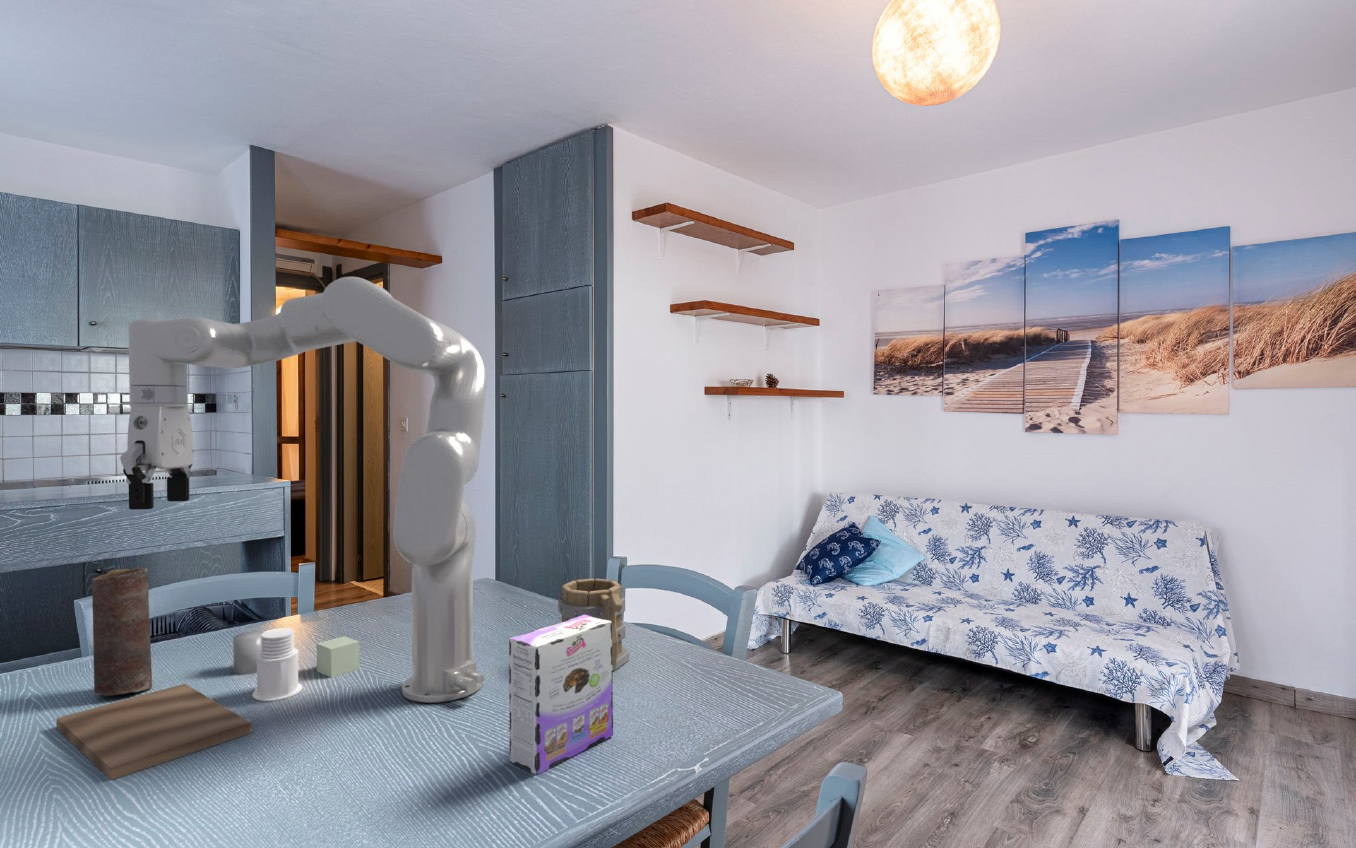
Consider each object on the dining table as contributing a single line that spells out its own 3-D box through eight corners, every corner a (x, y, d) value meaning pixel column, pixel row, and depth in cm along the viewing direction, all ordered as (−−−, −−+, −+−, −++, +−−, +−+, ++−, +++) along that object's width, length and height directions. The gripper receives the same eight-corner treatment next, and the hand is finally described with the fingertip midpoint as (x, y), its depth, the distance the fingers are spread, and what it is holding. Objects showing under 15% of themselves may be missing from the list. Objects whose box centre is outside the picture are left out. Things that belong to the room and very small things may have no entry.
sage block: (359, 669, 125) (359, 641, 125) (331, 678, 121) (331, 649, 121) (344, 663, 128) (344, 636, 128) (316, 671, 124) (316, 643, 124)
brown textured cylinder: (118, 704, 110) (116, 576, 110) (80, 700, 112) (78, 574, 111) (163, 686, 118) (161, 566, 117) (127, 682, 119) (125, 564, 119)
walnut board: (250, 733, 100) (250, 722, 100) (111, 780, 88) (110, 768, 88) (185, 693, 115) (184, 683, 115) (56, 728, 102) (56, 718, 102)
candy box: (585, 725, 103) (585, 612, 103) (614, 737, 99) (614, 620, 99) (507, 761, 92) (506, 636, 92) (536, 776, 88) (536, 645, 88)
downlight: (246, 691, 115) (246, 631, 115) (293, 680, 120) (293, 622, 120) (260, 708, 110) (260, 644, 109) (309, 695, 115) (309, 634, 114)
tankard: (549, 655, 133) (549, 575, 132) (614, 646, 138) (614, 569, 137) (577, 694, 114) (577, 601, 114) (651, 682, 119) (650, 593, 119)
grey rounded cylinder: (271, 668, 126) (271, 634, 126) (241, 676, 122) (240, 642, 122) (259, 662, 129) (258, 629, 129) (228, 670, 125) (228, 636, 125)
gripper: (151, 396, 105) (152, 512, 105) (213, 398, 122) (214, 498, 122) (95, 396, 104) (97, 513, 104) (166, 398, 121) (167, 498, 121)
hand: (160, 504), depth 113 cm, fingers open, 9 cm apart
